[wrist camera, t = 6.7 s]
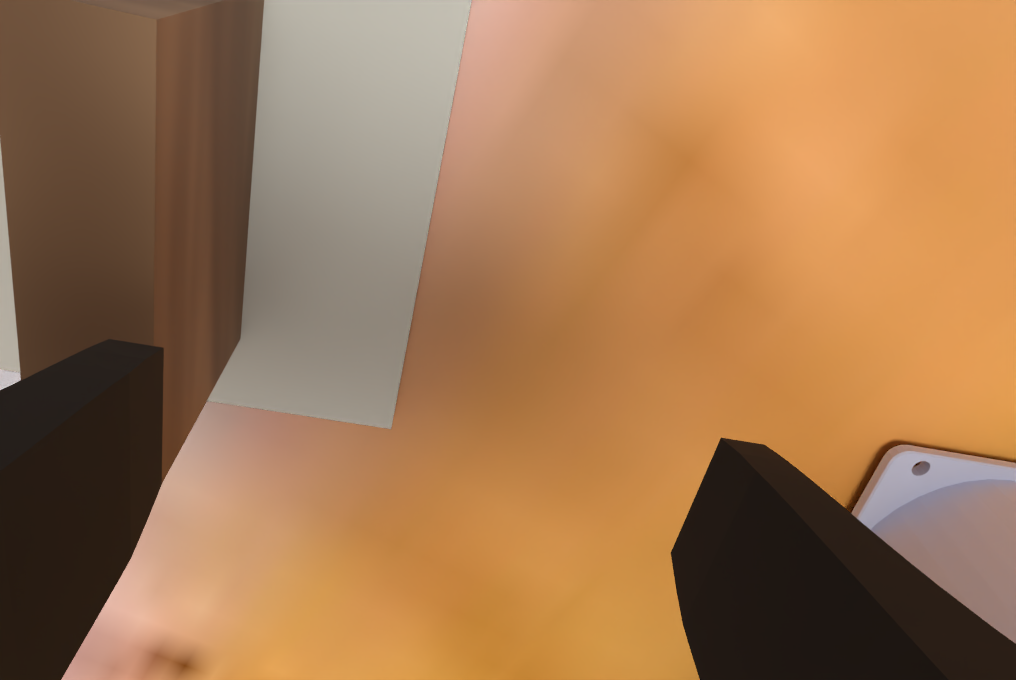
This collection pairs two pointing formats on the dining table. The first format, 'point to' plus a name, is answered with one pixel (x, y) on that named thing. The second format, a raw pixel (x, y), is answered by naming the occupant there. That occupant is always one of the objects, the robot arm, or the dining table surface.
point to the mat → (331, 204)
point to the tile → (130, 182)
